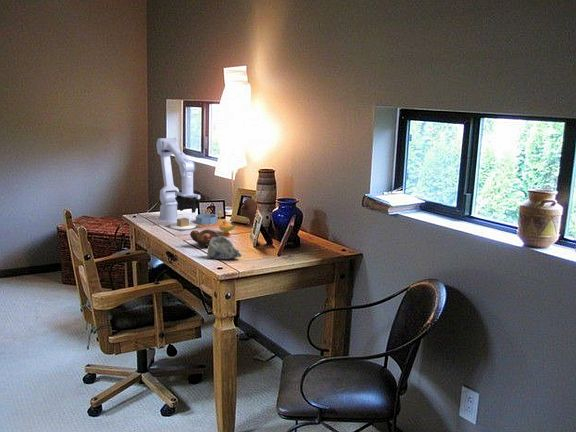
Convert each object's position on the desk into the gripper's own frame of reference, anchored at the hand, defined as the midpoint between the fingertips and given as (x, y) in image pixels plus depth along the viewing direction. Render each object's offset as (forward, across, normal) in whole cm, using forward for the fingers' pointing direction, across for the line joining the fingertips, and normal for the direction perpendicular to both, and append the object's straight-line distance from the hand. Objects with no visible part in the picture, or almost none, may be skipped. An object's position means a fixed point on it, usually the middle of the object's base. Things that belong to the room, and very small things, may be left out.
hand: (187, 211), depth 293 cm
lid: (+8, -2, -1) cm, 9 cm away
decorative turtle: (+9, +29, -24) cm, 39 cm away
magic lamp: (+9, +25, -1) cm, 27 cm away
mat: (+9, -2, -1) cm, 9 cm away
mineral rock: (+9, +46, -37) cm, 60 cm away
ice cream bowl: (+9, +25, +22) cm, 34 cm away
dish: (+9, +2, +14) cm, 17 cm away
